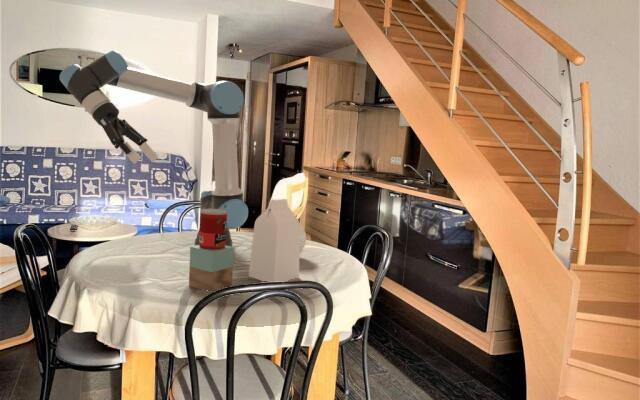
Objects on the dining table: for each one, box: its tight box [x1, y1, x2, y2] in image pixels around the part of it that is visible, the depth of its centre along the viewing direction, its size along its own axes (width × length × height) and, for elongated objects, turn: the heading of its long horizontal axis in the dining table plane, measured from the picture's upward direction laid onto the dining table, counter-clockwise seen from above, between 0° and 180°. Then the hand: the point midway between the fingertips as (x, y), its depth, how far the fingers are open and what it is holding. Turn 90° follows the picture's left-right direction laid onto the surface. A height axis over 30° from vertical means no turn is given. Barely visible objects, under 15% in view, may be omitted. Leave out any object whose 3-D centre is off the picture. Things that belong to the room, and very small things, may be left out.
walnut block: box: [188, 266, 234, 292], centre depth 146 cm, size 9×9×6 cm
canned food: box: [198, 209, 227, 250], centre depth 144 cm, size 8×8×11 cm
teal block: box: [189, 245, 235, 272], centre depth 145 cm, size 9×9×6 cm
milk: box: [248, 198, 301, 282], centre depth 158 cm, size 12×12×26 cm
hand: (147, 160), depth 152 cm, fingers open, 13 cm apart
